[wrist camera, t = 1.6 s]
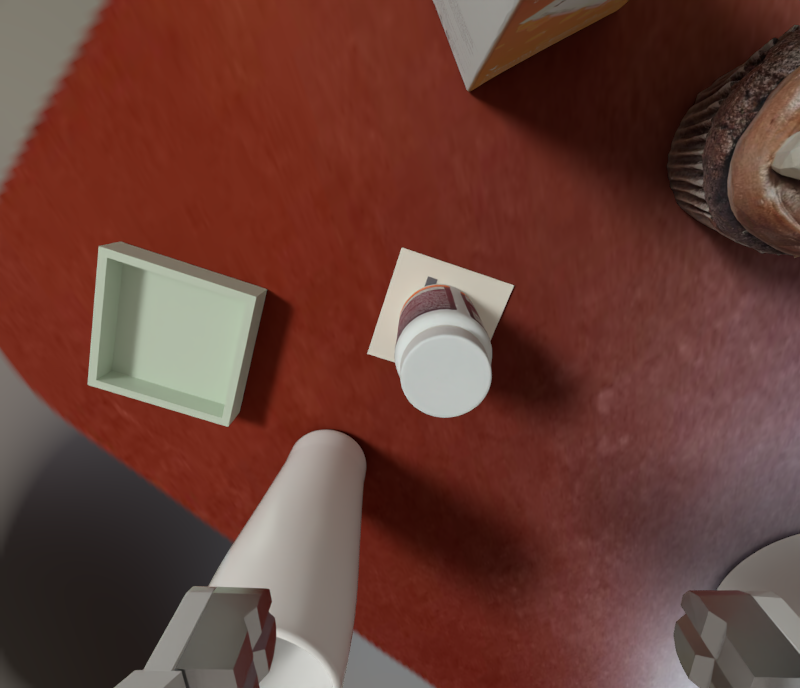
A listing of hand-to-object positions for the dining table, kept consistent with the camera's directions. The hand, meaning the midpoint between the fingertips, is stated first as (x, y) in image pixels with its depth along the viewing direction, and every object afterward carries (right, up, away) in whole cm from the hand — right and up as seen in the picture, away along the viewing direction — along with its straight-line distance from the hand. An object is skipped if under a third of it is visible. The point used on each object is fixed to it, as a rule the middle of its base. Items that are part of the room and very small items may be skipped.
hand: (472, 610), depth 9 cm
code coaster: (+1, +7, +18) cm, 20 cm away
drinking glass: (-6, -3, +22) cm, 23 cm away
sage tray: (-15, +6, +19) cm, 25 cm away
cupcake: (+17, +16, +15) cm, 27 cm away
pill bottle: (+1, +7, +18) cm, 20 cm away
